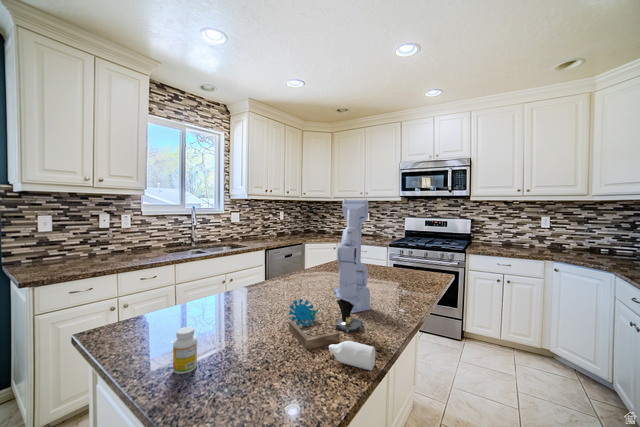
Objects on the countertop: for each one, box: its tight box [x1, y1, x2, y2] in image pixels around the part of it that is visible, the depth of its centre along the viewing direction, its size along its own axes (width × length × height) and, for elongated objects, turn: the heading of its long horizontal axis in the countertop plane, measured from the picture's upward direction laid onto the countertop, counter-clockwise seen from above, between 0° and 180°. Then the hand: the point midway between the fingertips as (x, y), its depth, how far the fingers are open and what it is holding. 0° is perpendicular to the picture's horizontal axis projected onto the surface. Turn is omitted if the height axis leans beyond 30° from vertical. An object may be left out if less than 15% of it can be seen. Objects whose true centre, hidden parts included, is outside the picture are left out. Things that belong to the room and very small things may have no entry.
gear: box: [288, 298, 319, 328], centre depth 100 cm, size 11×6×10 cm
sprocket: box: [334, 315, 364, 334], centre depth 95 cm, size 10×9×4 cm
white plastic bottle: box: [328, 340, 376, 371], centre depth 73 cm, size 6×12×6 cm, turn 65°
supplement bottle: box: [172, 326, 198, 375], centre depth 70 cm, size 5×5×10 cm
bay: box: [288, 320, 341, 350], centre depth 89 cm, size 11×14×3 cm
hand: (346, 321), depth 93 cm, fingers closed, pressing on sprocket
